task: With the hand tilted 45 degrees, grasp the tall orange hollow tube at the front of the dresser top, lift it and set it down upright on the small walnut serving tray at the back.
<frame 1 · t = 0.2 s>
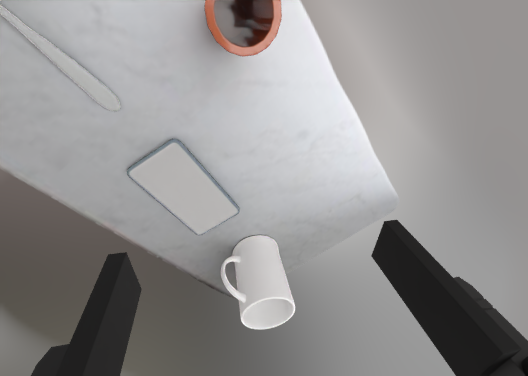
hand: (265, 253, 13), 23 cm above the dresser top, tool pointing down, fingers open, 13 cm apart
spoon: (23, 20, 23), on the dresser top
smartphone: (189, 190, 36), on the dresser top
orange hollow tube: (228, 18, 26), on the dresser top
mug: (248, 247, 45), on the dresser top
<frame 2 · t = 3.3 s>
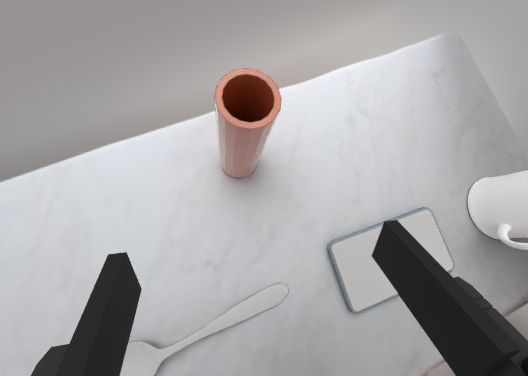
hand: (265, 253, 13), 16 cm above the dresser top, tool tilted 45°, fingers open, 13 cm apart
spoon: (199, 330, 26), on the dresser top
smartphone: (389, 256, 31), on the dresser top
orange hollow tube: (238, 160, 30), on the dresser top
mug: (485, 214, 34), on the dresser top
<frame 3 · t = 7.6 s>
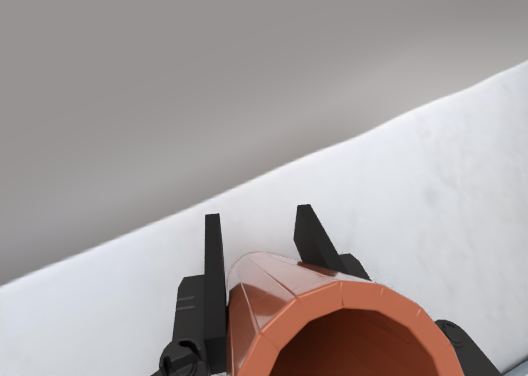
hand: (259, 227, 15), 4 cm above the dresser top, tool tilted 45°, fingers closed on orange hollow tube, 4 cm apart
orange hollow tube: (258, 283, 18), on the dresser top, touching gripper
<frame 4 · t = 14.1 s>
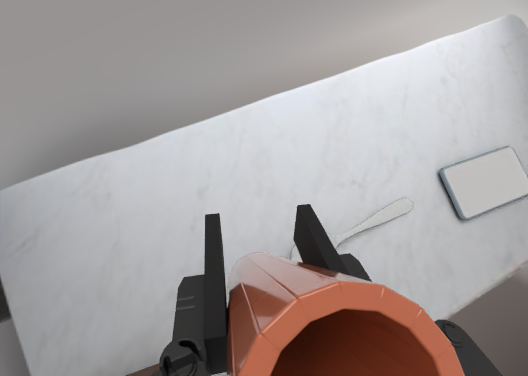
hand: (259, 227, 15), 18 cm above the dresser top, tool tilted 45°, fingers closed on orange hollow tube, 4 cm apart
spoon: (353, 228, 35), on the dresser top
smartphone: (483, 182, 39), on the dresser top
orange hollow tube: (258, 283, 18), point 14 cm above the dresser top, touching gripper
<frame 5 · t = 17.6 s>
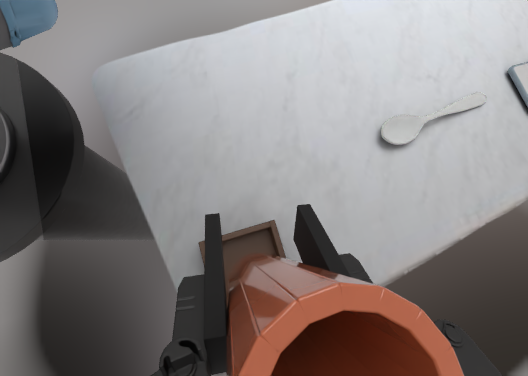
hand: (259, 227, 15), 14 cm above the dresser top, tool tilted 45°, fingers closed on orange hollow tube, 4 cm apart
spoon: (432, 117, 36), on the dresser top
tray: (246, 267, 28), on the dresser top
orange hollow tube: (258, 284, 18), point 10 cm above the dresser top, touching gripper
when the fingers open (4 cm above the dresser top, at t = 20.5 s): orange hollow tube stays where it is, resting on tray.
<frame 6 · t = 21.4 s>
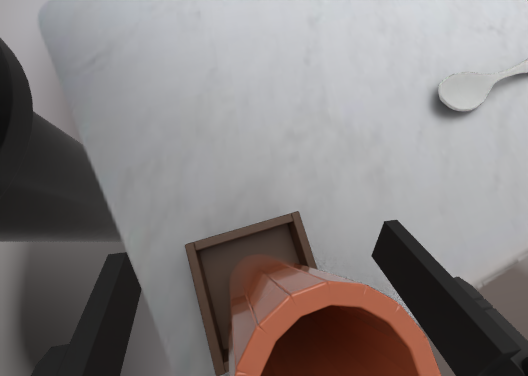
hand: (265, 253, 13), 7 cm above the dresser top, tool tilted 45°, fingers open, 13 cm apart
spoon: (498, 79, 27), on the dresser top
tray: (256, 280, 19), on the dresser top
orange hollow tube: (258, 283, 18), point 1 cm above the dresser top, touching tray
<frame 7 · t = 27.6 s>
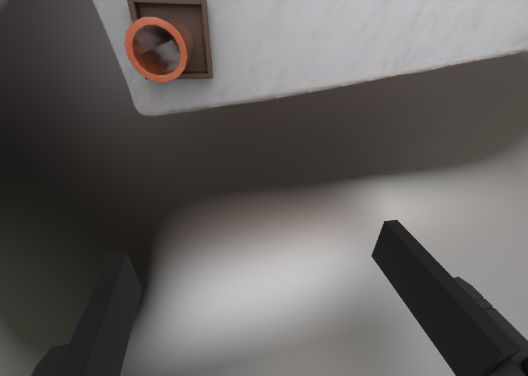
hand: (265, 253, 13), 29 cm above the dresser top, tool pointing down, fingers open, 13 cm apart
tray: (176, 39, 31), on the dresser top
orange hollow tube: (176, 41, 31), point 1 cm above the dresser top, touching tray
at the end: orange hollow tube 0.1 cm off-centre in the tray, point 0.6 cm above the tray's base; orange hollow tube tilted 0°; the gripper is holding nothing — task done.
